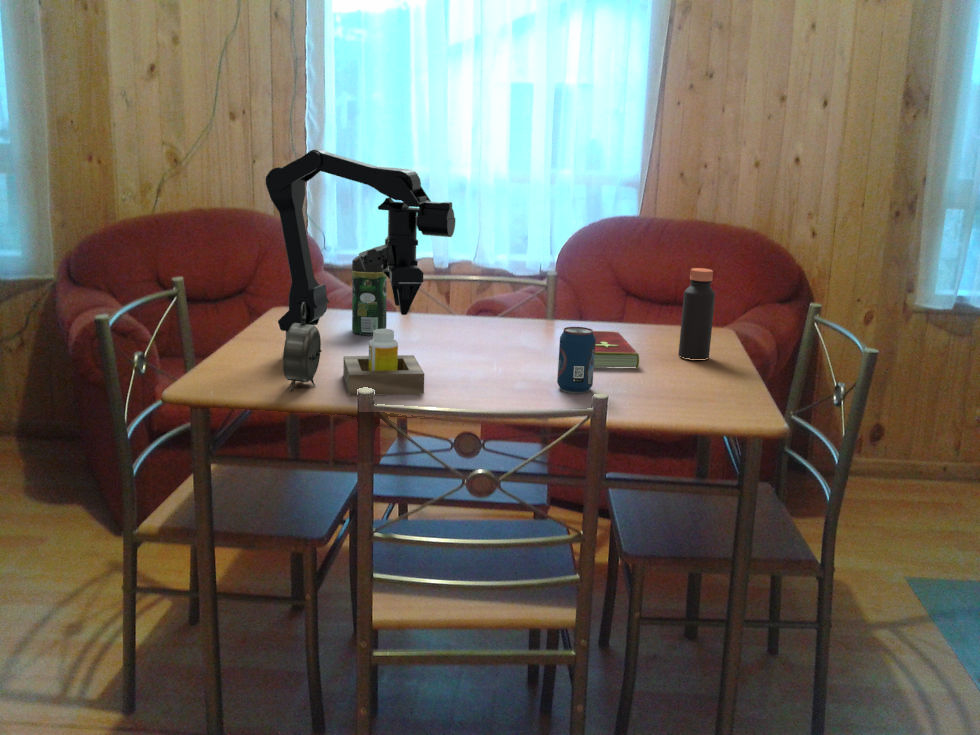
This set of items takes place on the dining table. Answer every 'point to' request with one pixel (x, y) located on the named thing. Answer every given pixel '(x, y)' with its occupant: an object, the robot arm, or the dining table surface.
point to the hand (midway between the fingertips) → (400, 310)
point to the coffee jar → (368, 298)
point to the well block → (384, 376)
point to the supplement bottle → (383, 351)
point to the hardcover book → (613, 351)
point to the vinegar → (697, 315)
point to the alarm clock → (301, 352)
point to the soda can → (576, 360)
